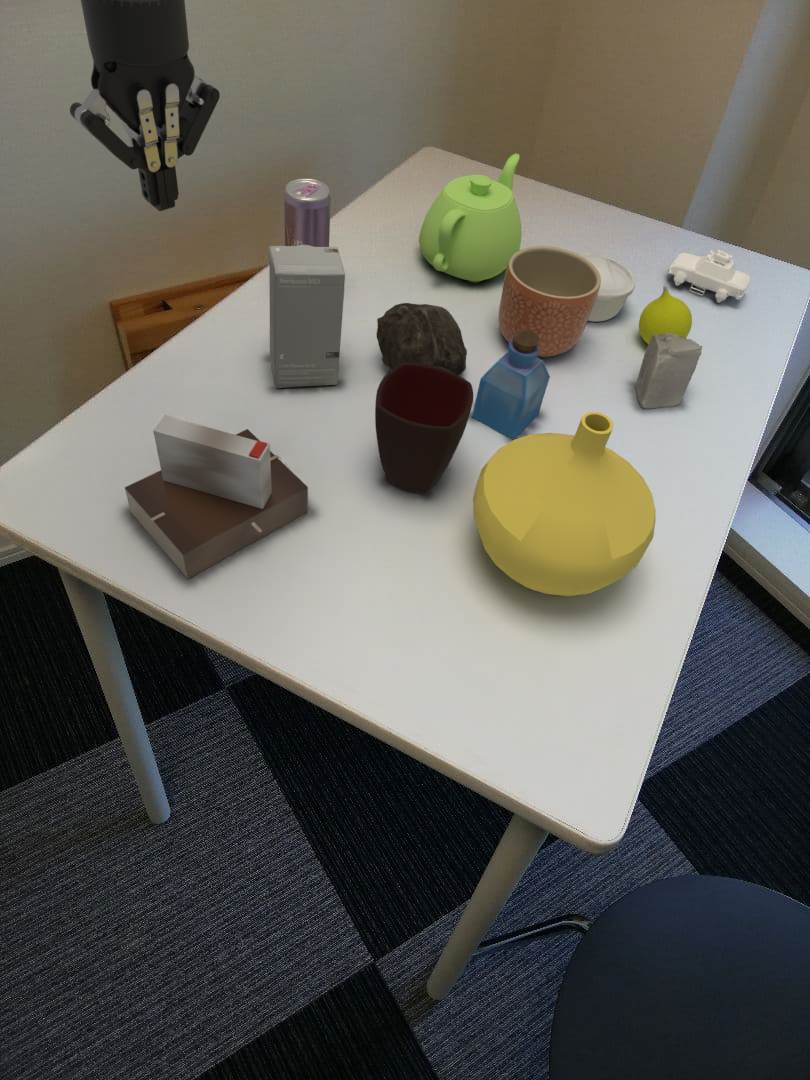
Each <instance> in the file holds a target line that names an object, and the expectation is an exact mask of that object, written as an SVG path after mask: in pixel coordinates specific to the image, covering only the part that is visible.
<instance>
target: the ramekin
mask: <svg viewBox="0 0 810 1080" xmlns="http://www.w3.org/2000/svg"><path fill="white" fill-rule="evenodd" d="M577 254H578V255H580V256H582V257H584V258H585V259H587V260H588V261H589V262H591V263H592V264H593V265H594V266H595V267H596V269H597V270H598V272H599V274H600V277H601V284H600V289H599V292H598V295H597V298H596V300H595V303H594V306H593V308H592V311H591V313H590V315H589V318H588V320H587V322H594V323H595V322H604V321H605V322H606V321H608V320H610V319H612V318H614V317H615V316H617V315H618V314H619V312H620V311H621V309H622V308H623V306H624V305H625V303H626V302H627V299H628V298H629V297H630V296H631V295H632V294H633V292H634V290H635V287H636V279H635V276H634V275H633V273H632V271H630V269H629V268H628V267H626V266H625V265H624V264H623V263H621V262H619V261H618V260H615V259H614V258H611V257H609V256H605V255H603V254H597V253H591V252H582V253H577Z"/></svg>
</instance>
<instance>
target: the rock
mask: <svg viewBox="0 0 810 1080" xmlns="http://www.w3.org/2000/svg"><path fill="white" fill-rule="evenodd" d="M376 321H377V328H376V340H377V343H378V346H379V350H380V353H381V361H382V363H383V365H385V366H386V367H387V368H388V369H390V370H392V369H393V368H395V367H396V366H398V365H399V364H401V363H418V364H425V365H430V366H437V367H444V368H446V369H448V370H450V371H451V372H453V373H454V374H456V375H458V376H460V375H461V374H462V373H463V372H465V371H466V369H467V356H468V350H467V348H466V346H465V343H464V339H463V335H462V331H461V327H460V326H459V324H458V322H457V321H456V319H455V318H454V317H453V316H452V314H451V313H450V311H449V310H447V309H446V308H445V307H443V306H439V305H433V304H428V303H421V304H418V303H411V302H402V303H397V304H394V305H393V306H391V308H389V309H388V310H386V311H385V312H384V314H383V315H382V316H381V317H377V320H376Z"/></svg>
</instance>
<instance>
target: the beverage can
mask: <svg viewBox="0 0 810 1080" xmlns="http://www.w3.org/2000/svg"><path fill="white" fill-rule="evenodd" d="M283 195H284V196H283V201H284V203H283V207H284V209H283V210H284V212H283V213H284V246H298V245H310V246H313V247H330V232H331V200H332V199H331V195H330V188H329V186H328V185H327V184H325V183H324V182H322V181H320V180H317V179H312V178H298V179H294V180H291V181H290V182H288V183H287V184H286V185H285V193H284V194H283Z"/></svg>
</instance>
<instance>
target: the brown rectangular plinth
mask: <svg viewBox="0 0 810 1080" xmlns="http://www.w3.org/2000/svg"><path fill="white" fill-rule="evenodd" d="M235 435H237V436H241V437H245V438H248V439H252V440H255V441H261V440H260V439H259V438H258V437H257V436H255V434H254V433H253V432H251V430H250V429H248V428H246V429H244V430H242V431H240V432H237V433H236V434H235ZM279 458H280V456H279V455H278V454H274V453H273V452H272V451H271V450H270V464H271V486H272V494H271V495H270V497H269V499H268V501H267V503H266V505H265V506H264V508H263V509H261V508H258V507H254V506H251V505H247V504H244V503H240V502H237V501H233V500H230V499H226V498H223V497H219V496H216V495H212V494H209V493H205V492H202V491H198V490H195V489H191V488H188V487H184V486H181V485H178V484H174V483H171V482H167V481H164V480H163V477H162V472H161V469H160V470H159V471H156V472H154V473H152V474H150V475H148V476H146V477H143V478H141V479H139V480H138V481H135V482H133V483H131V484H129V485H127V486H125V487H124V490H125V495H126V498H127V503H128V507H129V510H130V513H131V515H132V516H133V517H134V519H135V520H136V521H137V522H138V523H139V524H140V525H141V527H142V528H143V529H144V530H145V531H146V532H147V533H148V535H149V536H150V537H151V538H152V540H154V542H155V543H156V544H157V545H158V546H159V548H160V549H161V550H162V551H163V552H164V553H165V554H166V556H167V557H168V558H169V560H171V562H172V563H173V564H174V565H175V566H176V567H177V569H178V570H179V571H180V572H181V573H182V575H184V577H185V578H186V579H187V580H190V579H191V578H193V577H195V576H197V575H198V574H200V573H201V572H203V571H205V570H207V569H208V568H211V567H213V566H214V565H216V564H218V563H220V562H221V561H223V560H225V559H226V558H228V557H230V556H231V555H235V553H237V552H239V551H241V550H243V549H244V548H246V547H247V546H250V545H252V544H253V543H255V542H256V541H258V540H261V539H262V538H264V537H265V536H267V535H269V534H271V533H273V532H274V531H277V530H278V529H280V528H282V527H283V526H285V525H288V524H289V523H290V522H292V521H294V520H296V519H297V518H299V517H301V516H304V515H305V514H306V513H308V511H309V509H308V507H309V505H308V504H309V503H308V502H309V501H308V500H309V487H308V486H307V485H306V484H305V483H304V482H303V481H302V480H301V479H300V478H299V477H298V475H296V474H295V473H294V472H293V471H292V470H291V469H290V468H289V467H288V466H287V465H285V464H284V463H283V461H281V459H279Z"/></svg>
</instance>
